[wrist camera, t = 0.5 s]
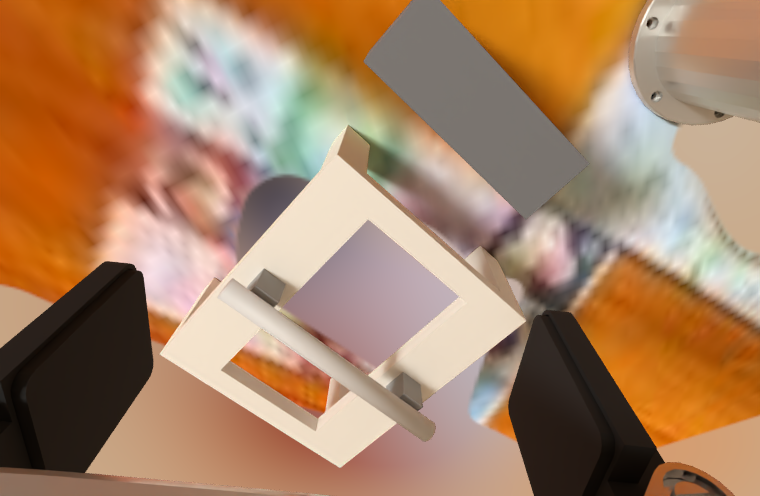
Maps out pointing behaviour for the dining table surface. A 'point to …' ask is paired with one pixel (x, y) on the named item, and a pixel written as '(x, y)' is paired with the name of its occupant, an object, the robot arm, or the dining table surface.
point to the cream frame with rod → (348, 383)
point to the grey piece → (474, 105)
